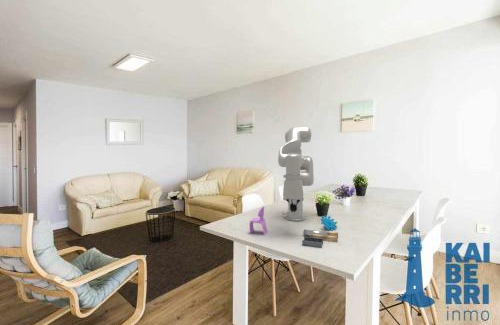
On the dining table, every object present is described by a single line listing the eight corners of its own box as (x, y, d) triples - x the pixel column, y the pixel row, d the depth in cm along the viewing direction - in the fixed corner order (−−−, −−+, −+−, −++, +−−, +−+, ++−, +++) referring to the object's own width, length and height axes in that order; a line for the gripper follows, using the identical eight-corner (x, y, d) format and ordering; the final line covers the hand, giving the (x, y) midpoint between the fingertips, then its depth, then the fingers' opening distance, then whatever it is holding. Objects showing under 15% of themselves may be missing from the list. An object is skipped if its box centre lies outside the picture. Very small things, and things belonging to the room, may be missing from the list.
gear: (325, 230, 138) (319, 214, 144) (320, 235, 142) (314, 219, 148) (341, 230, 142) (335, 214, 148) (336, 235, 146) (329, 220, 152)
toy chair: (253, 229, 146) (253, 204, 145) (268, 231, 143) (267, 205, 142) (248, 234, 138) (248, 207, 138) (263, 236, 135) (263, 208, 134)
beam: (310, 239, 128) (310, 234, 128) (312, 234, 135) (312, 230, 135) (337, 242, 123) (337, 237, 123) (338, 237, 131) (338, 232, 130)
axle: (303, 236, 132) (303, 230, 132) (304, 234, 135) (304, 228, 135) (327, 239, 127) (327, 232, 127) (327, 237, 130) (327, 231, 130)
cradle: (302, 246, 120) (302, 240, 120) (304, 241, 126) (304, 236, 126) (321, 248, 117) (321, 243, 116) (323, 243, 123) (323, 238, 123)
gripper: (277, 177, 133) (277, 212, 134) (306, 178, 127) (306, 214, 128) (281, 176, 140) (281, 208, 141) (308, 177, 134) (308, 210, 135)
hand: (293, 211), depth 135 cm, fingers closed
